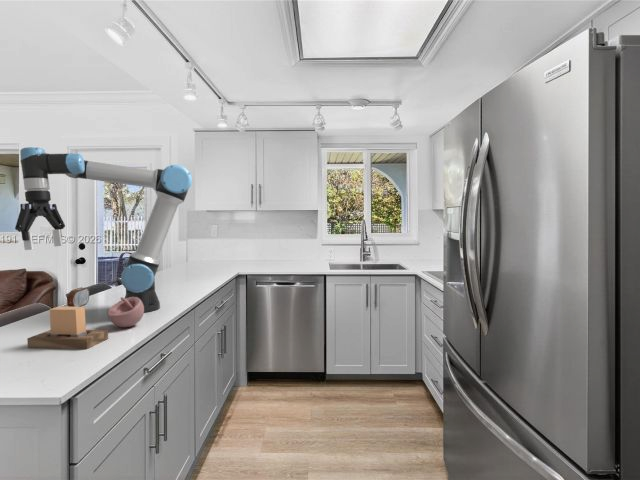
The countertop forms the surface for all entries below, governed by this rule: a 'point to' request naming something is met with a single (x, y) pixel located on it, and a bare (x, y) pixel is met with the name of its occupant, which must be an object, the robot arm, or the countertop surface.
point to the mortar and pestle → (126, 312)
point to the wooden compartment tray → (68, 340)
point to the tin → (78, 297)
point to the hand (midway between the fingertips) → (44, 248)
